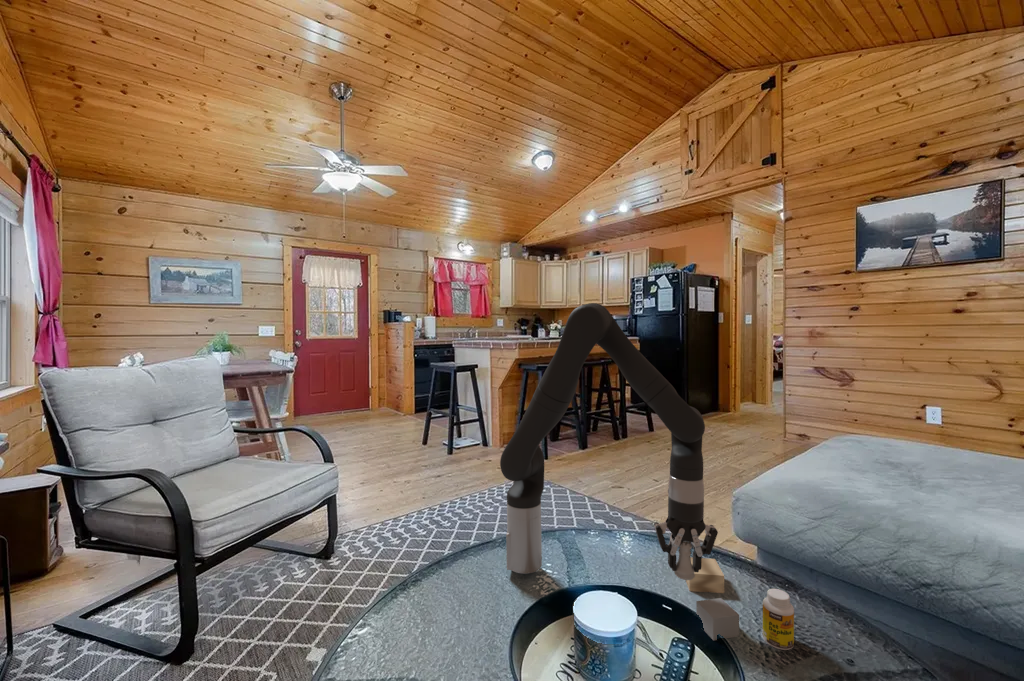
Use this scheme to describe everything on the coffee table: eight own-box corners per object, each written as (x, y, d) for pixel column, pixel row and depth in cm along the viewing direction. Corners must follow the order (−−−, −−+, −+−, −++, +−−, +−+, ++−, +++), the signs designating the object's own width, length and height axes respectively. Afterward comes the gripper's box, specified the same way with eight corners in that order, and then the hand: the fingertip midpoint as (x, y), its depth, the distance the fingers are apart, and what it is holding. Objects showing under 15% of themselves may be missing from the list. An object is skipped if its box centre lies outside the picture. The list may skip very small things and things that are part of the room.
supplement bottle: (764, 648, 90) (764, 598, 90) (760, 631, 95) (760, 583, 95) (797, 655, 88) (797, 604, 88) (791, 637, 93) (791, 589, 93)
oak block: (689, 593, 110) (689, 573, 110) (682, 575, 118) (682, 556, 117) (724, 596, 108) (724, 575, 108) (715, 578, 116) (715, 559, 116)
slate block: (713, 642, 92) (713, 618, 92) (696, 623, 98) (696, 601, 98) (739, 638, 93) (739, 614, 93) (720, 620, 99) (720, 597, 99)
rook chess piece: (679, 567, 105) (679, 534, 105) (698, 575, 102) (698, 540, 101) (670, 575, 102) (671, 540, 101) (689, 583, 99) (690, 547, 98)
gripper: (657, 501, 98) (656, 577, 99) (725, 503, 97) (723, 581, 97) (650, 488, 105) (648, 559, 106) (712, 490, 104) (711, 562, 105)
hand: (684, 569), depth 102 cm, fingers closed on rook chess piece, 4 cm apart
